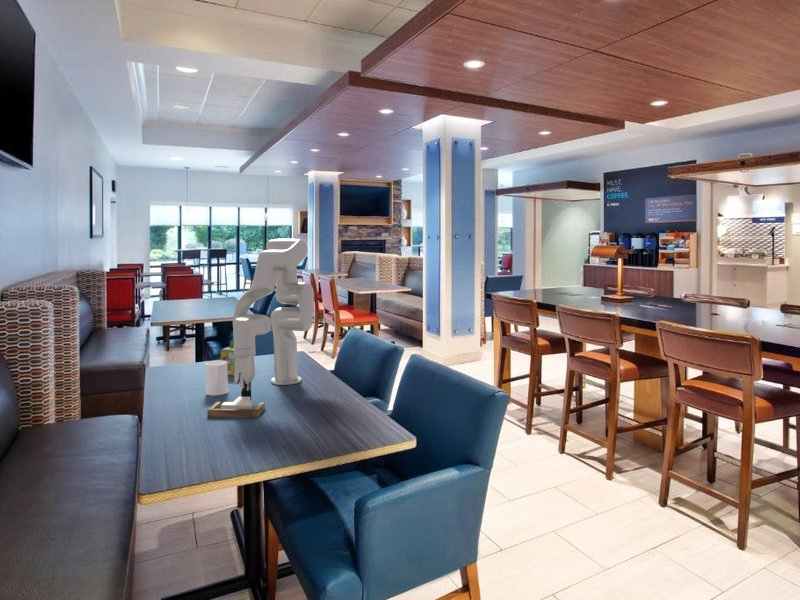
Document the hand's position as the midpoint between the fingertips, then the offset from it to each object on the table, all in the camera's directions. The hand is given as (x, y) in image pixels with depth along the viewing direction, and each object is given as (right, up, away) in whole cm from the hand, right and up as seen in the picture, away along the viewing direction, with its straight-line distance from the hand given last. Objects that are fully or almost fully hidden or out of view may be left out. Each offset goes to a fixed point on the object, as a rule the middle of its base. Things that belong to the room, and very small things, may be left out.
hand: (246, 400), depth 193 cm
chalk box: (-17, +4, +42) cm, 46 cm away
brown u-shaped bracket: (0, -2, -10) cm, 11 cm away
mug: (-15, 0, +12) cm, 19 cm away
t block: (0, -2, -7) cm, 7 cm away
